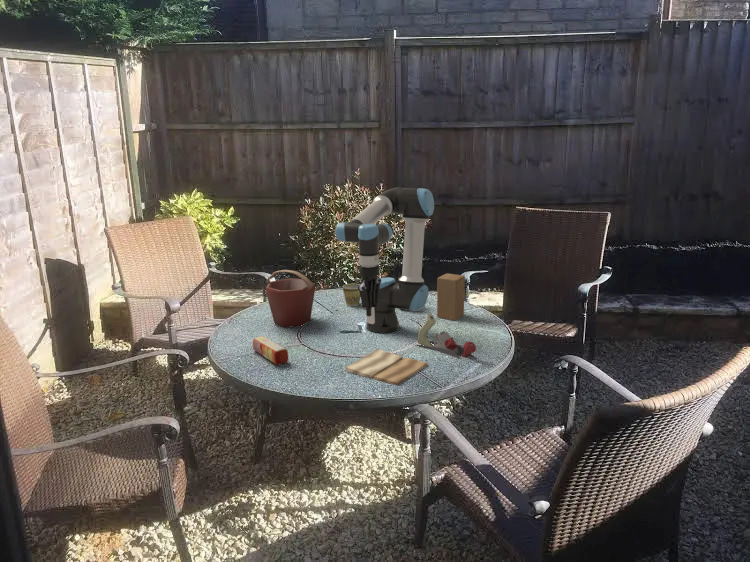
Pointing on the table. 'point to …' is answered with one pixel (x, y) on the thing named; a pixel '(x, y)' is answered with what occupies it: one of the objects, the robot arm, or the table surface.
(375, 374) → the ash plank
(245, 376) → the table surface
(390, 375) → the oak plank
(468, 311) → the table surface
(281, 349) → the snack package
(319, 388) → the table surface
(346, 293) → the ceramic cup
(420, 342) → the hand plane
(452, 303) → the wooden block
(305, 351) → the table surface
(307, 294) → the bucket
